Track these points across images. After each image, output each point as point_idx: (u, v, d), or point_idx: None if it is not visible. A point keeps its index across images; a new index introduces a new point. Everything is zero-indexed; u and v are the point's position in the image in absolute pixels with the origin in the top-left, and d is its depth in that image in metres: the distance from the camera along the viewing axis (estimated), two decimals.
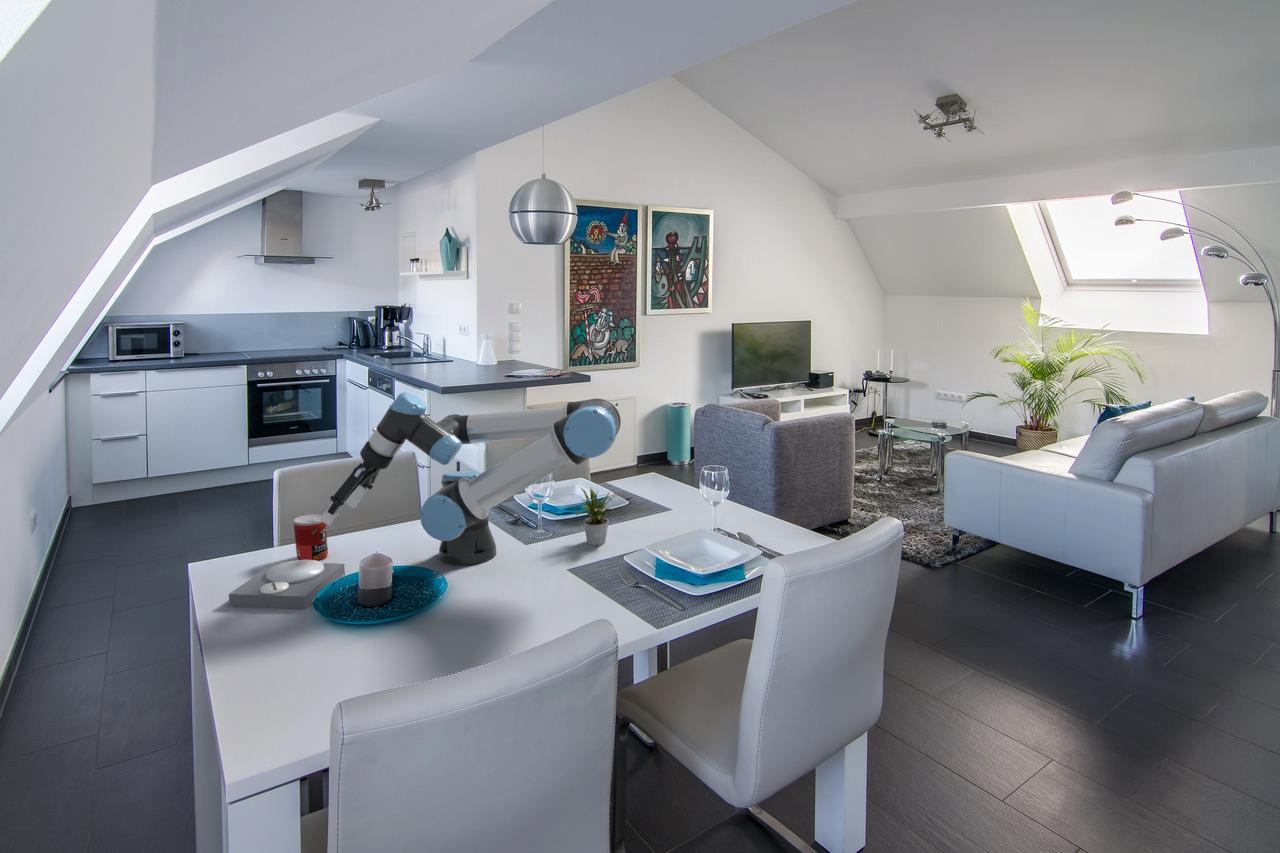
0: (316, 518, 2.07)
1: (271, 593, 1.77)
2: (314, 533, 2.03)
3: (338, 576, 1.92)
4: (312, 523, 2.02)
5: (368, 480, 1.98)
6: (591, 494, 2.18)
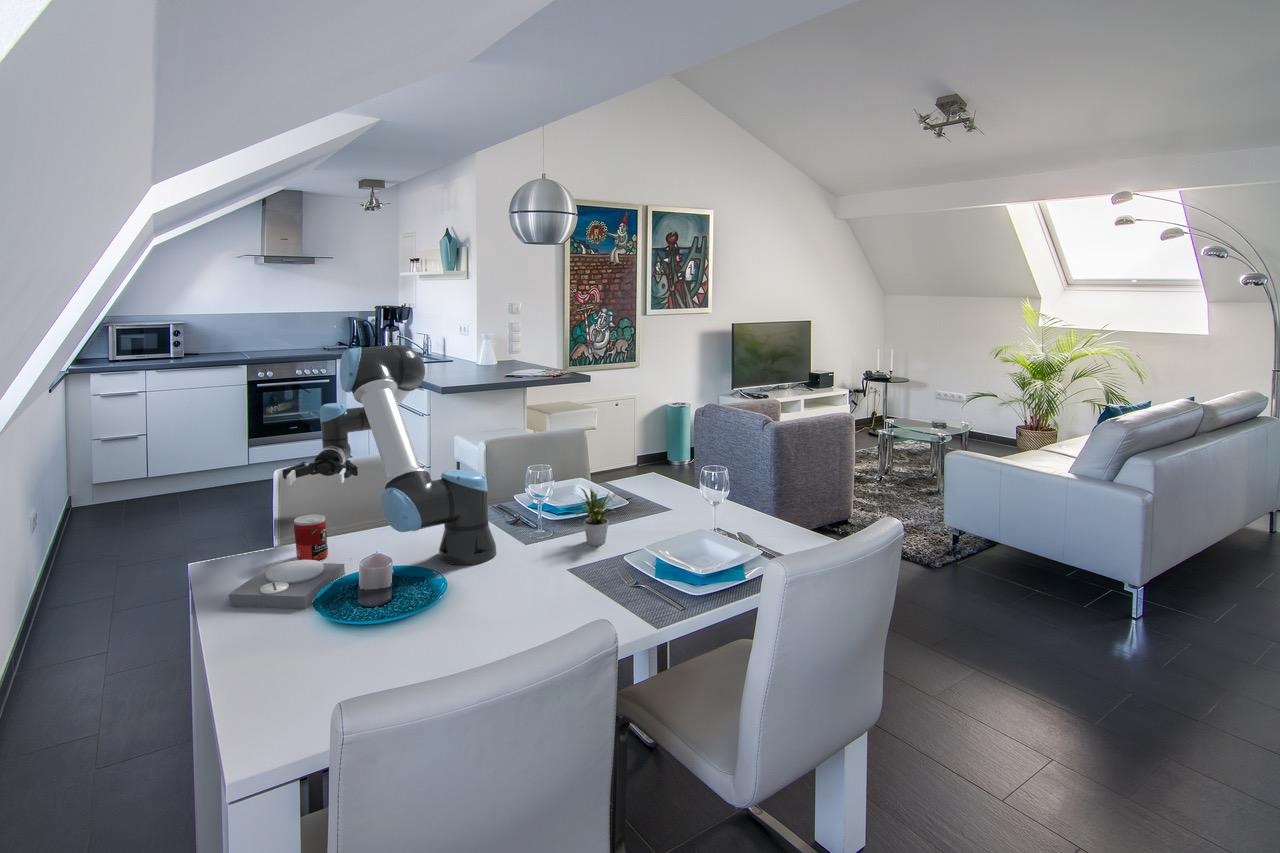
0: (316, 518, 2.07)
1: (271, 593, 1.77)
2: (314, 533, 2.03)
3: (338, 576, 1.92)
4: (312, 523, 2.02)
5: (338, 467, 2.23)
6: (591, 494, 2.18)
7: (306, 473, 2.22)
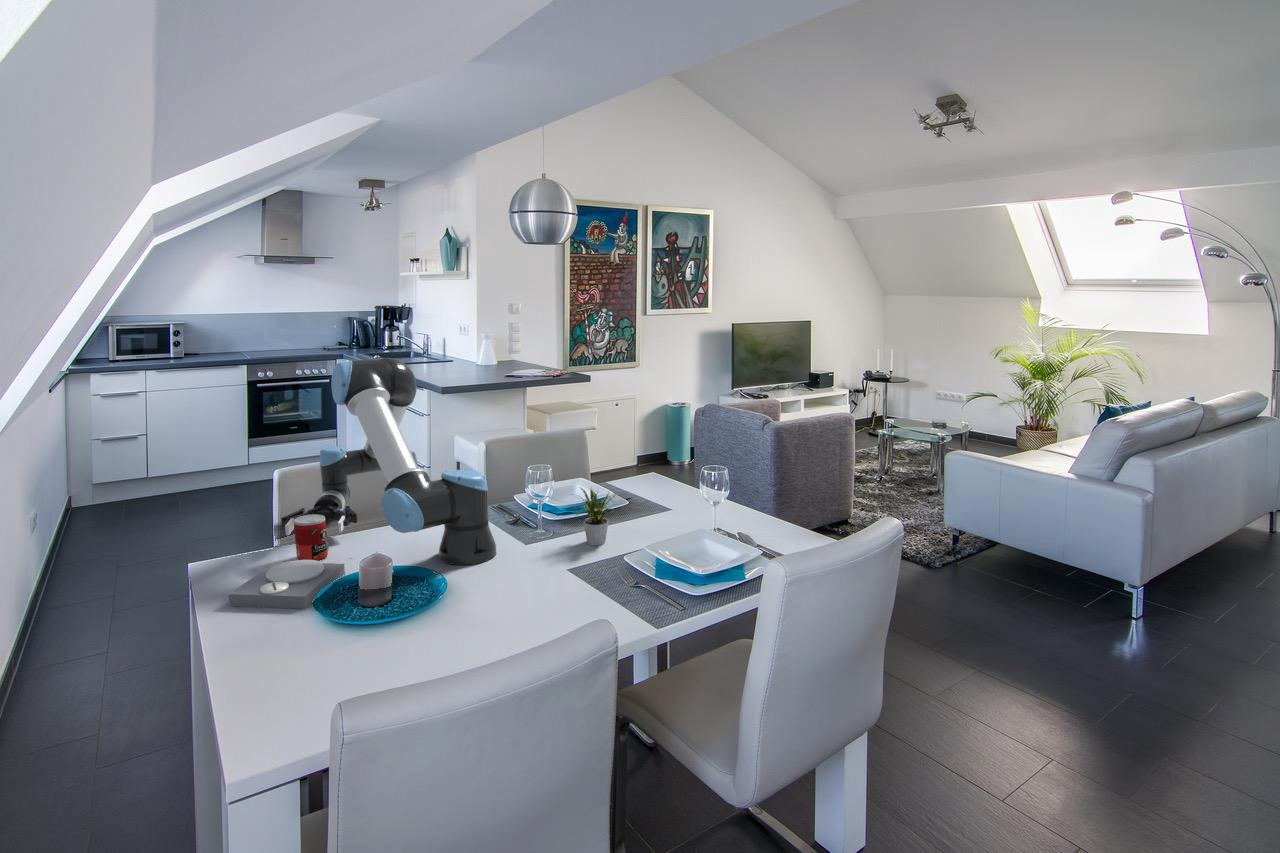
0: (316, 518, 2.07)
1: (271, 593, 1.77)
2: (314, 533, 2.03)
3: (338, 576, 1.92)
4: (312, 523, 2.02)
5: (338, 514, 2.21)
6: (591, 494, 2.18)
7: None
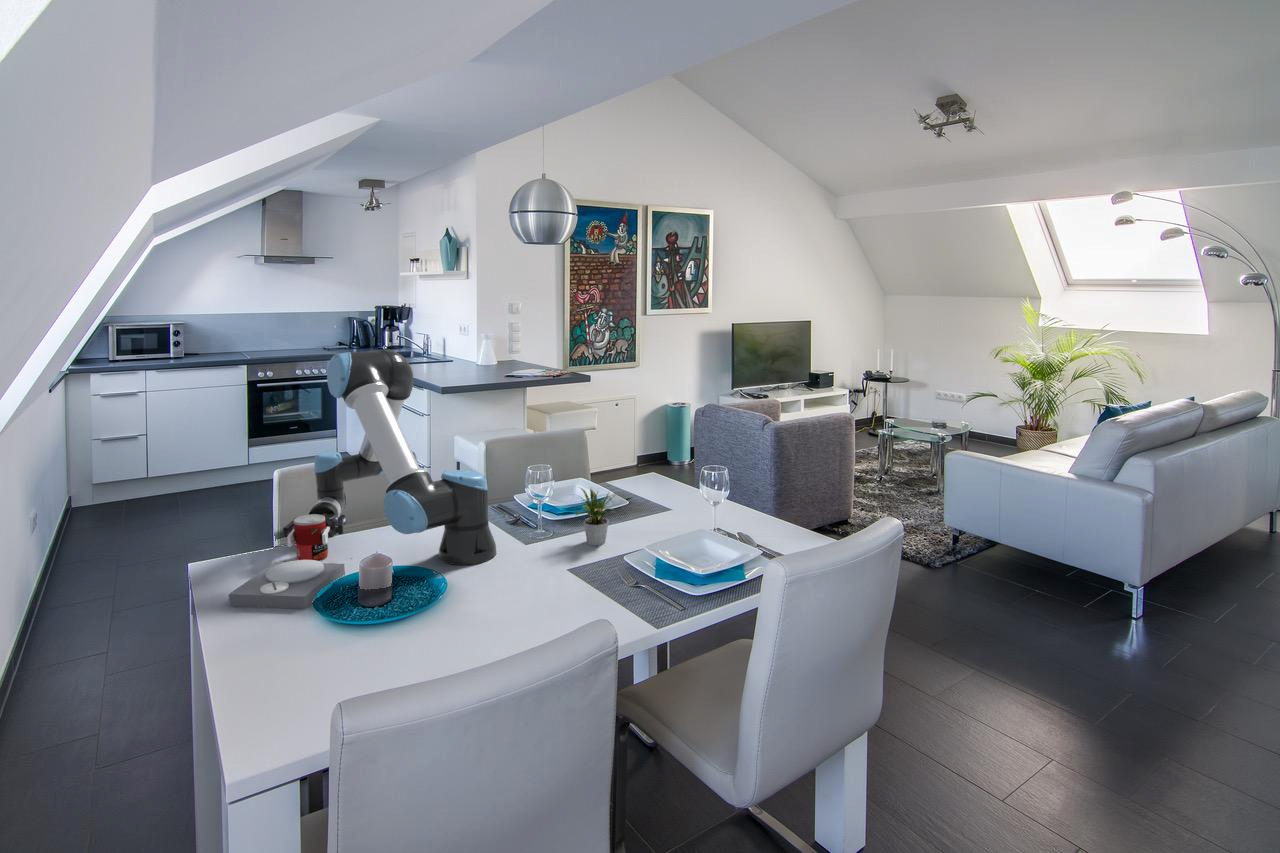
0: (316, 518, 2.07)
1: (271, 593, 1.77)
2: (314, 533, 2.03)
3: (338, 576, 1.92)
4: (312, 523, 2.02)
5: (327, 523, 2.12)
6: (591, 494, 2.18)
7: None
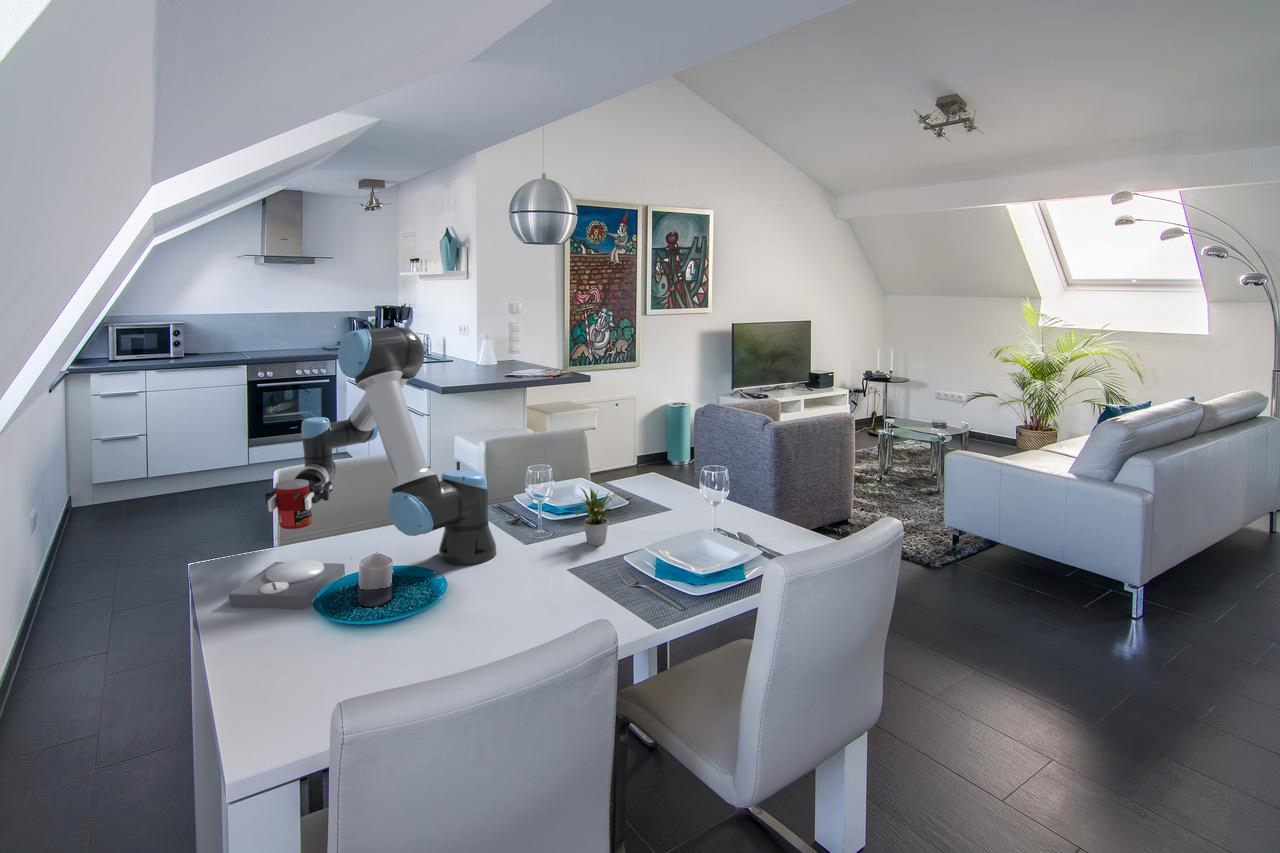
0: (299, 483, 1.96)
1: (271, 593, 1.77)
2: (297, 498, 1.92)
3: (338, 576, 1.92)
4: (294, 487, 1.91)
5: (311, 489, 2.01)
6: (591, 494, 2.18)
7: None
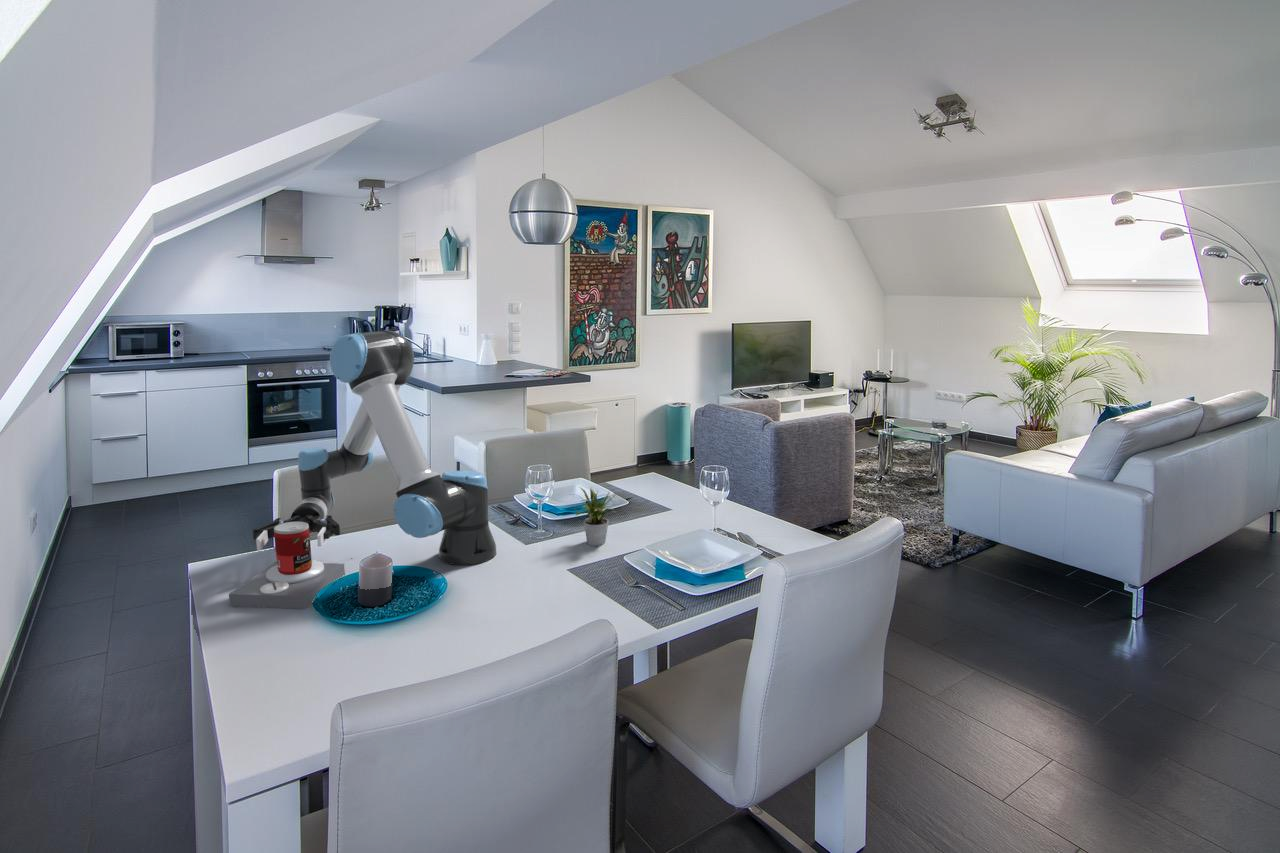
0: (299, 526, 1.88)
1: (271, 593, 1.77)
2: (296, 542, 1.84)
3: (338, 576, 1.92)
4: (294, 531, 1.84)
5: (318, 525, 1.94)
6: (591, 494, 2.18)
7: None
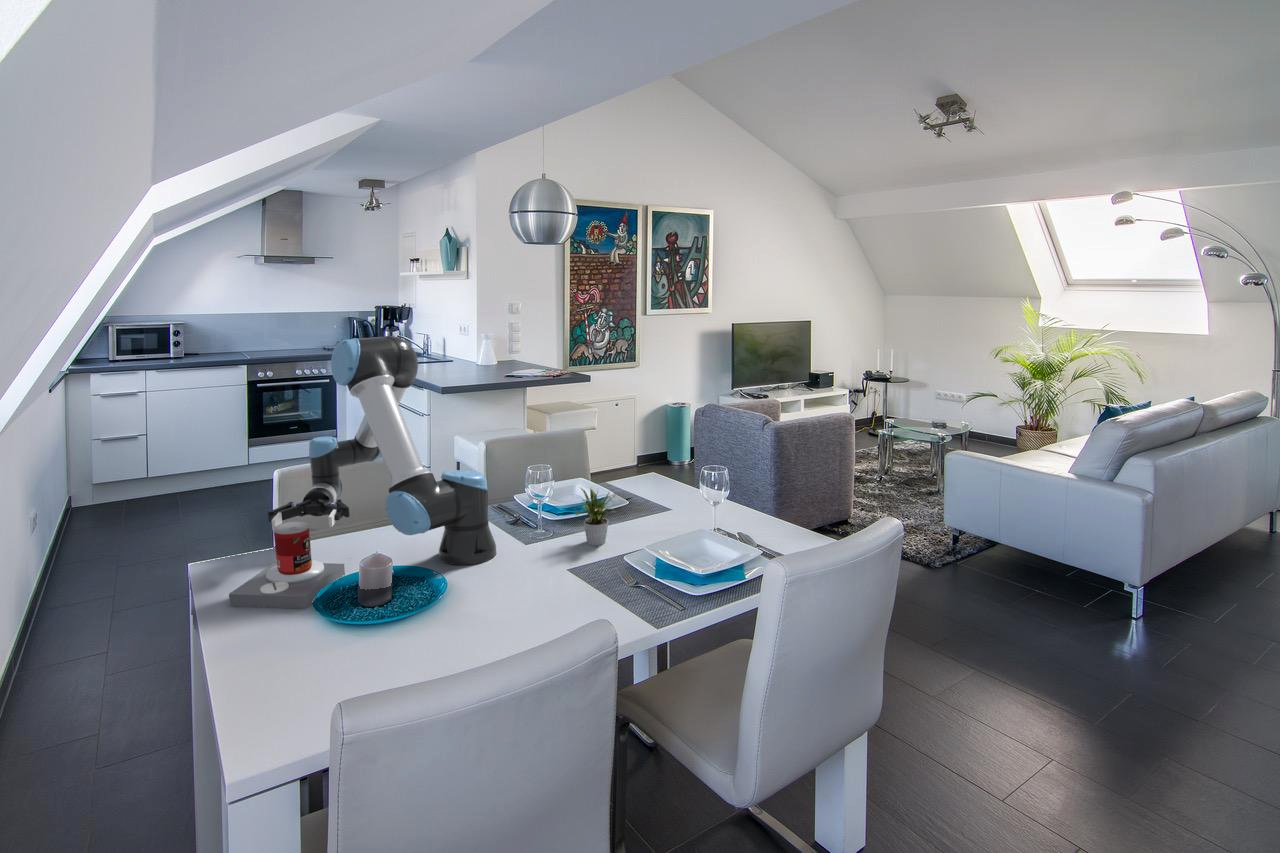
0: (299, 526, 1.88)
1: (271, 593, 1.77)
2: (296, 543, 1.84)
3: (338, 576, 1.92)
4: (294, 531, 1.84)
5: (328, 508, 2.07)
6: (591, 494, 2.18)
7: (293, 515, 2.06)
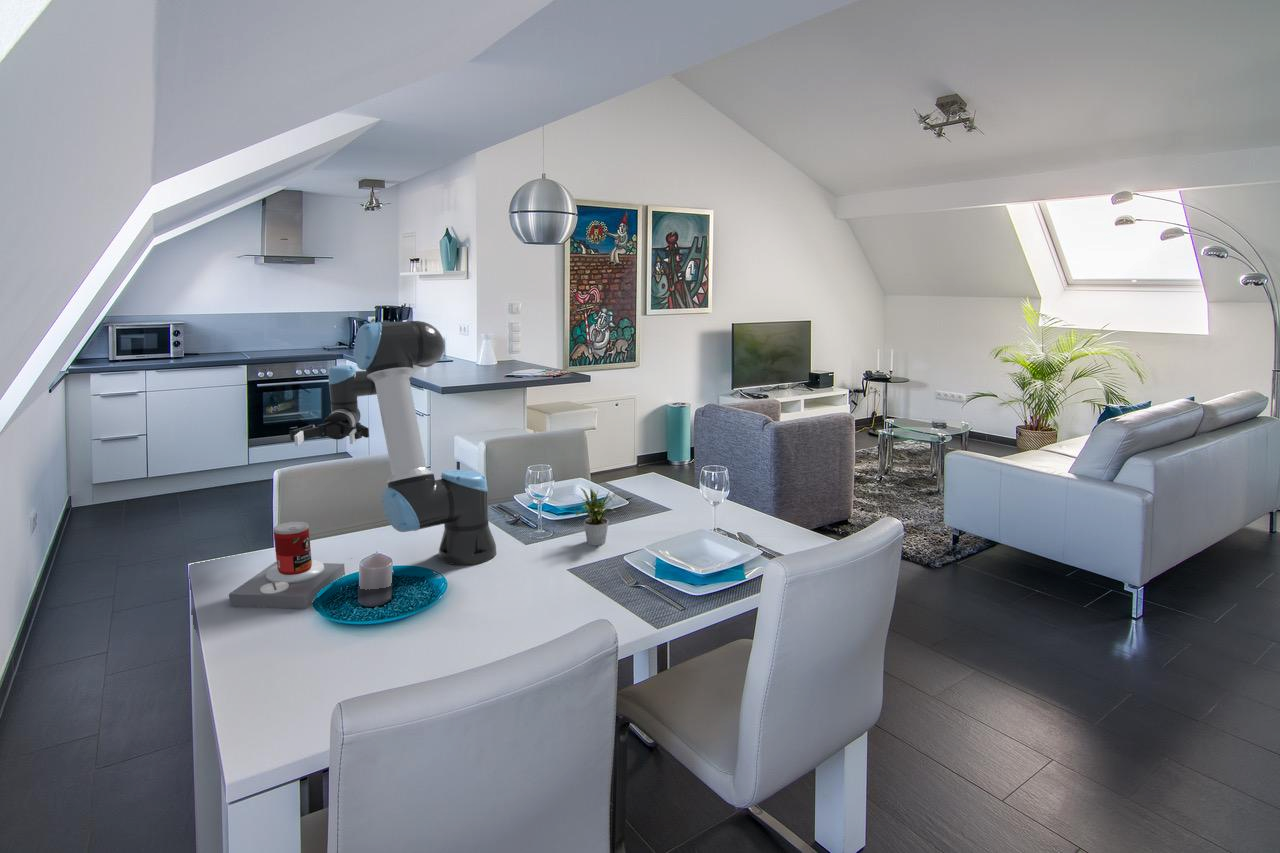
0: (299, 526, 1.88)
1: (271, 593, 1.77)
2: (296, 542, 1.84)
3: (338, 576, 1.92)
4: (293, 531, 1.84)
5: (348, 428, 2.13)
6: (591, 494, 2.18)
7: (314, 435, 2.12)
